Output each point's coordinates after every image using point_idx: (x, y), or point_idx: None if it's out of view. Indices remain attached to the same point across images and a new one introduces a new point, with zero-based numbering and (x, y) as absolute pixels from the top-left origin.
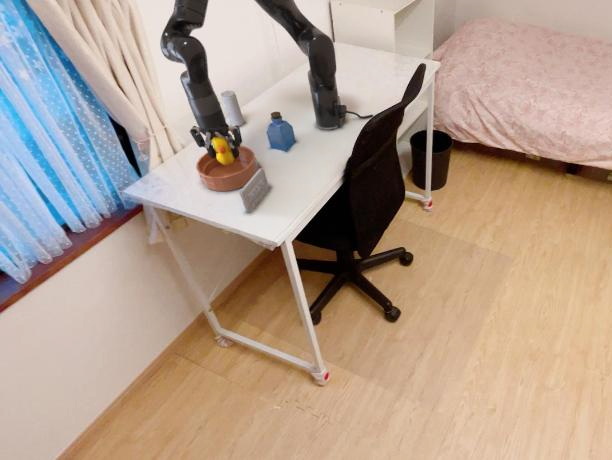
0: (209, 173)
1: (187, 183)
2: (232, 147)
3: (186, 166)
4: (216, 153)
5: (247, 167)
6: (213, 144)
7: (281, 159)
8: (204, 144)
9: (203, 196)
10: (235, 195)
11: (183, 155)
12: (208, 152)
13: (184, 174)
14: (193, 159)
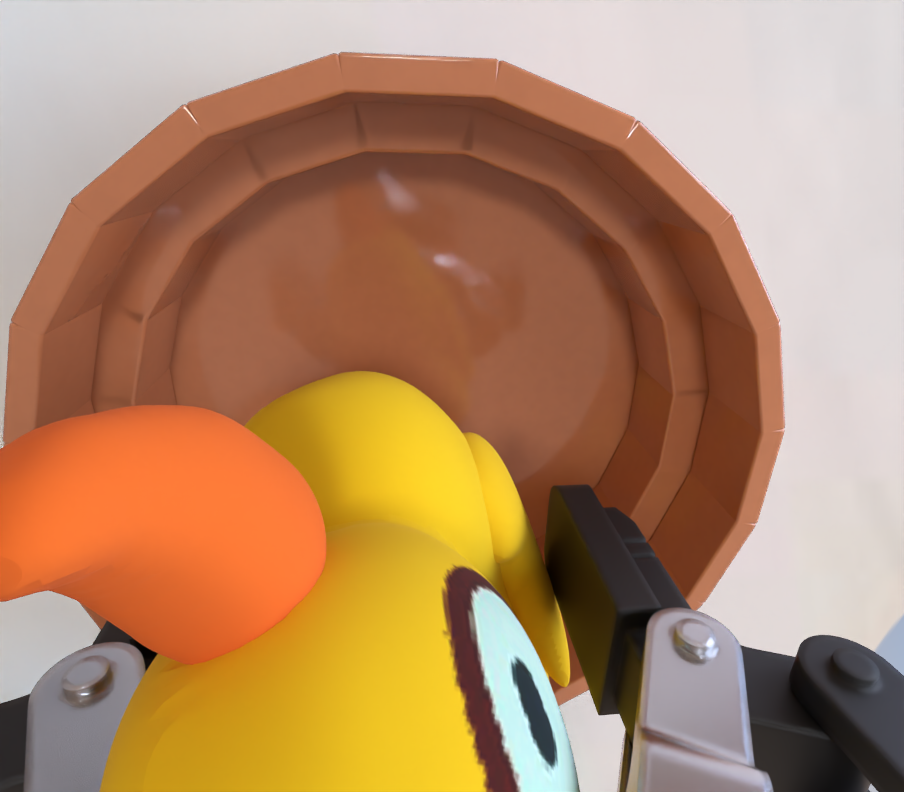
0: (624, 400)
1: (813, 261)
2: (85, 670)
3: (836, 500)
4: (532, 569)
5: (17, 344)
6: (481, 720)
7: (15, 613)
8: (759, 712)
9: (617, 5)
10: (229, 6)
11: (865, 619)
12: (651, 562)
13: (848, 396)
14: (788, 581)
